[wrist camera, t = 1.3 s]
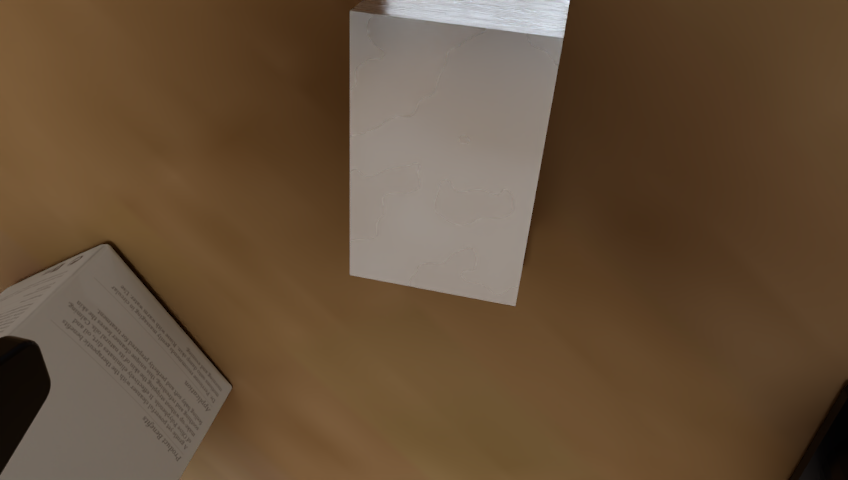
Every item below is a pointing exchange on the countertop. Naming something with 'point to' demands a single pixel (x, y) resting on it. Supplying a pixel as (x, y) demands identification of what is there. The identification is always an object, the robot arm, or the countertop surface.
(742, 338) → the countertop surface
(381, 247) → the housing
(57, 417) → the skincare box
